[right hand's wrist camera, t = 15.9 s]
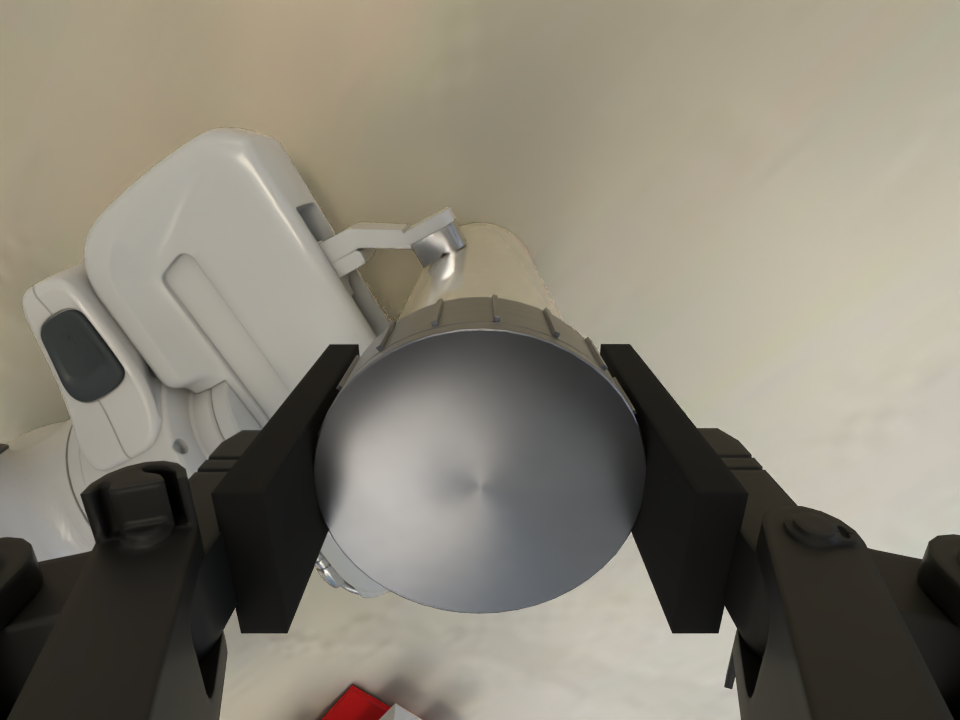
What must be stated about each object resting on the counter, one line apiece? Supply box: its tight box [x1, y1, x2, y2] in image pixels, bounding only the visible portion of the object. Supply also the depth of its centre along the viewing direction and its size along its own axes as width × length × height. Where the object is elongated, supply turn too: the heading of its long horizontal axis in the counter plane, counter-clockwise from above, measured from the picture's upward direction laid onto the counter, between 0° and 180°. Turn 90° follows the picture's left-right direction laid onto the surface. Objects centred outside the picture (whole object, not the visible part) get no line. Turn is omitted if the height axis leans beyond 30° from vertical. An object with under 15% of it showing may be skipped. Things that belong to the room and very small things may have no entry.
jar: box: [398, 223, 563, 321], centre depth 19 cm, size 6×6×18 cm
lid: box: [313, 294, 647, 613], centre depth 11 cm, size 6×6×2 cm
